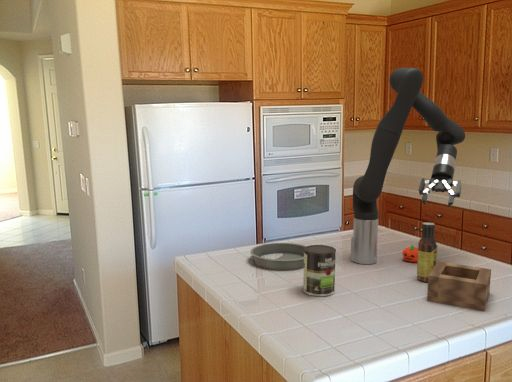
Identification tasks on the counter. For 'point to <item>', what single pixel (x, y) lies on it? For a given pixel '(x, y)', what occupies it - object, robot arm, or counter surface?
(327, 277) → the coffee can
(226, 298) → the counter surface
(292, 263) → the cake pan
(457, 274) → the bottle block
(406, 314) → the counter surface
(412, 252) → the pumpkin
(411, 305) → the counter surface
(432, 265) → the sauce bottle
